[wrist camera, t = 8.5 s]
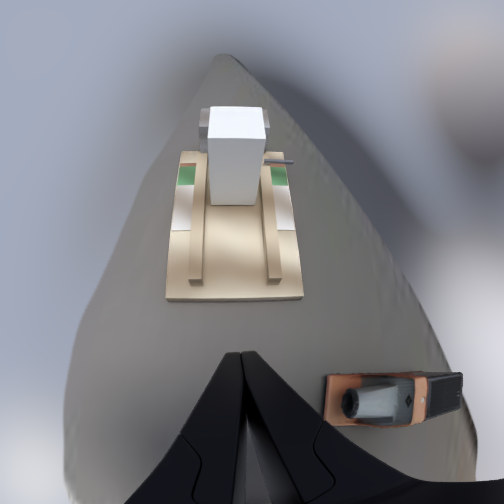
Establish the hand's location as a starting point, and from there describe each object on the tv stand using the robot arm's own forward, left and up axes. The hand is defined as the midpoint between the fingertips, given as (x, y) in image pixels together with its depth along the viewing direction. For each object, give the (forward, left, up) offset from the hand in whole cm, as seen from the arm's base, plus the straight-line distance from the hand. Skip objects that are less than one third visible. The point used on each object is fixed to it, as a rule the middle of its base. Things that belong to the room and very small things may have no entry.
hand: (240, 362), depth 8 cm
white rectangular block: (+16, -4, -12) cm, 21 cm away
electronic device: (-5, -11, -14) cm, 18 cm away
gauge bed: (+14, -2, -14) cm, 20 cm away
